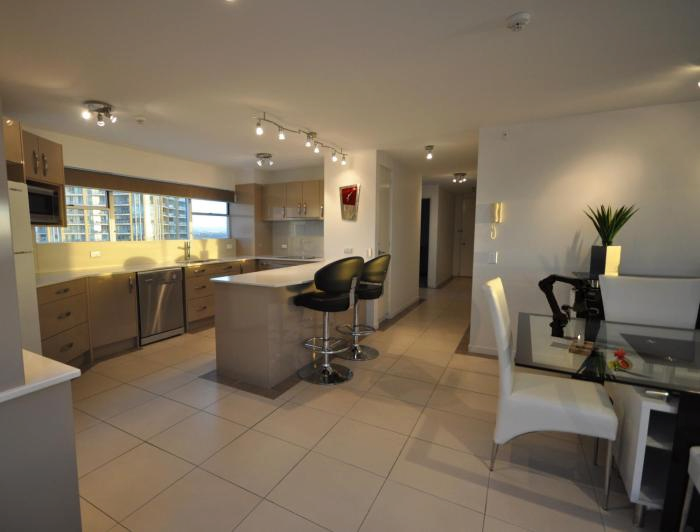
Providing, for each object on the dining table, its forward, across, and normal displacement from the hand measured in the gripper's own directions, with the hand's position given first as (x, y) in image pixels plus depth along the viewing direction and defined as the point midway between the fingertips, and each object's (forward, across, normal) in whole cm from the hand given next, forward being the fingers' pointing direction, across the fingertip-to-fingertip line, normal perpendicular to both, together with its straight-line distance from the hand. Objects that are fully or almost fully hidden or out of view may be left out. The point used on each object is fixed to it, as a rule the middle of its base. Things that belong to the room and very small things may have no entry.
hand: (578, 322), depth 209 cm
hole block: (+13, +4, -13) cm, 19 cm away
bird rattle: (+13, +24, -35) cm, 44 cm away
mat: (+13, -7, -14) cm, 20 cm away
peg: (+13, +4, -18) cm, 23 cm away
